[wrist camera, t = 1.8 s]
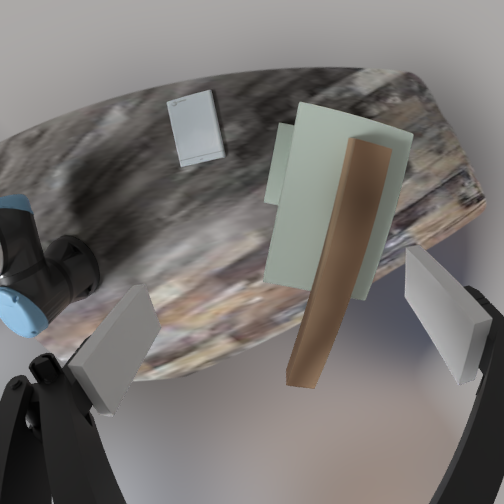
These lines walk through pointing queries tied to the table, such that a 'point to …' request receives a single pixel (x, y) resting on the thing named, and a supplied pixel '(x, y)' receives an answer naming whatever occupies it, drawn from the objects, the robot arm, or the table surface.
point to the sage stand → (324, 192)
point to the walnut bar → (339, 258)
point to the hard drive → (196, 128)
